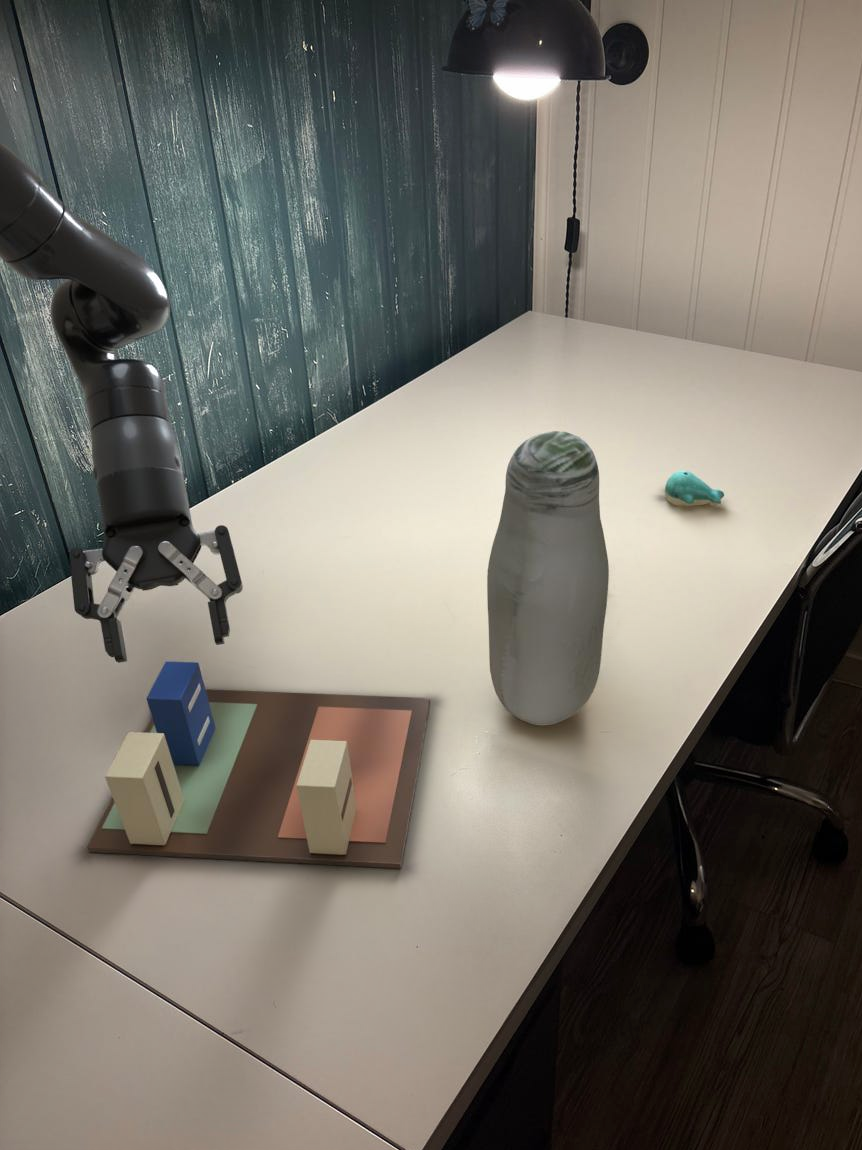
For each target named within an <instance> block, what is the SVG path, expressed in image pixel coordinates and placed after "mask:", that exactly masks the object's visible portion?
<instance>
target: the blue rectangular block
mask: <svg viewBox="0 0 862 1150" xmlns="http://www.w3.org/2000/svg"><path fill="white" fill-rule="evenodd" d="M205 689H206V686H205V682H204V679H203V674H202V670H201V667H200V663H199V662H197V661H174V660H173V661H171V660H169V661H168V660H167V661H165V662H164V664H163V666H162V668H161V670H160V672H159V673H158V675H157V677H156V679H155V681H154V683H153V684H152V687H151V688H150V691H149V692H148V694H147V696H146V703H147V705H148V709H149V712H150V715H151V720H152V719H153V722H154V725H155V728H156V731H157V733H163V734H164V736H165V739H166V742H167V745H168V749H169V752H170V755H171V758H172V761H173V765H183V766H199V765H200V763H201V761H202V758H203V756H204V754H205V751H206V749H207V747H208V744H209V742H210V740H211V737H212V735H213V733H214V730H215V724H214V720H213V716H212V713H211V709H210V705H209V701H208V697H207V693H206V690H205Z"/></svg>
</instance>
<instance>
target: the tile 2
mask: <svg viewBox="0 0 862 1150" xmlns="http://www.w3.org/2000/svg"><path fill="white" fill-rule="evenodd" d="M296 786H297V791H298V796H299V801H300V807H301V812H302V817H303V822H304V827H305V832H306V837H307V842H308V847H309V852H310V853H318V854H338V855H346V852H347V848H348V843H349V839H350V835H351V831H352V826H353V822H354V818H355V814H356V810H357V807H356V800H355V793H354V786H353V779H352V772H351V766H350V759H349V752H348V745H347V741H329V740H310V743H309V746H308V749H307V753H306V756H305V759H304V762H303V765H302V769H301V772H300V775H299V778H298V781H297V785H296Z"/></svg>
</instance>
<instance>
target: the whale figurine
mask: <svg viewBox="0 0 862 1150" xmlns="http://www.w3.org/2000/svg"><path fill="white" fill-rule="evenodd" d="M664 487H665V488H664V495H665V498H666V499H667V501H668V502H670V503H671V504H672V505H675V506H679V507H686V506H687V507H690V506H691V507H693V506H701V505H707V504H711V505H713V506H720V505H721V504H722V499H723V498H724V497H725V493H724V491H723V490H720V489H717V488H716V489H713V488H712V487H710V485H708V483H706V482H705V481H703V480H702V479H700V478H699V477H698V476H696V475H695V474H694V473H693V472H691V471H688V470H679V471H676V472H674V473H673V474H671V475H670V476H669V477H668V479H667V480H666V483H665V485H664Z"/></svg>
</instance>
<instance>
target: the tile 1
mask: <svg viewBox="0 0 862 1150" xmlns="http://www.w3.org/2000/svg"><path fill="white" fill-rule="evenodd" d="M104 778H105V781H106V783H107V785H108V788H109V791H110V794H111V797H112V798H113V799H114V802H115V804H116V807H117V810H118V812H119V815H120V818H121V820H122V823H123V826H124V828H125V831H126V834H127V836H128V839H129V842H130V843H131V844H146V845H166V842H167V840H168V838H169V835H170V833H171V831H172V828H173V826H174V824H175V821H176V819H177V817H178V814H179V812H180V810H181V807H182V805H183V803H184V797H183V794H182V791H181V787H180V784H179V781H178V778H177V774H176V771H175V768H174V765H173V761H172V758H171V755H170V752H169V749H168V745H167V742H166V739H165V736H164V734H163V733H146V732H140V731H138V732H137V731H128V732H127V734H126V736H125V738H124V740H122V743H121V746H120V747H119V749H118V750H117V753H116V754H115V756H114V758H113V760H112V762H111V764H110V767H109V768H108V769H107V772H106V774H105V776H104Z"/></svg>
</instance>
